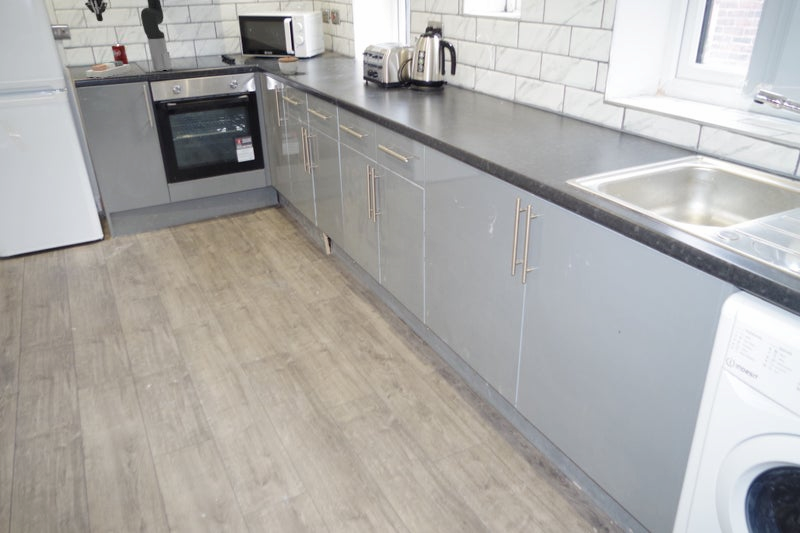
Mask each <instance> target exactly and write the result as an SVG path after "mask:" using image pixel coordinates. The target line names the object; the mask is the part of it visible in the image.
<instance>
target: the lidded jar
mask: <svg viewBox="0 0 800 533" xmlns="http://www.w3.org/2000/svg"><path fill="white" fill-rule="evenodd" d="M277 61H278V66H279V70H280V71H281V72H282V73H283V75H286V76H287V75H296V73H297V72H298V69H299V58H298V57H292V56H291V57H290V55H287V56H286V57H280V58H278V60H277Z"/></svg>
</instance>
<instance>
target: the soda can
mask: <svg viewBox="0 0 800 533" xmlns="http://www.w3.org/2000/svg"><path fill="white" fill-rule="evenodd" d="M111 51H112V55H113V59H114V60H113V61H123V64H129V60H128V55H127V54H128V53H127V50H126V46H125V44H112V45H111ZM129 65H130V64H129Z"/></svg>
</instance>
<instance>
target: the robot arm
mask: <svg viewBox="0 0 800 533" xmlns="http://www.w3.org/2000/svg"><path fill="white" fill-rule="evenodd" d="M146 1H147V6H148V7H143V9H142V10H141V12H140V19H141V23H142V28H143V31H144V34H145V35H146V38H147V43H148V44H147V45H148V47H149V53H150V58H151V63H152V67H153V69H152V70H153V71H154V70H155V71H154V72H164V71H163V70H167V71H171V70H173V66H172V61H171V56H170V52H169V51H168V47H167V43H166V38H165V36H166V35H165V32H163V31H162V30H160V27H159V25H161V24H162V23H163V21H164V10H163V8H162V4H161V0H146ZM84 4H85V7H87V8H88V9H89V11H90V12H91V13H92V14H95V17H96V20H97V22H103V20H104V18H103V14H104V13H105V12H106V10H107V7H108V2H106V1H104V0H87V2H85V3H84Z"/></svg>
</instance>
